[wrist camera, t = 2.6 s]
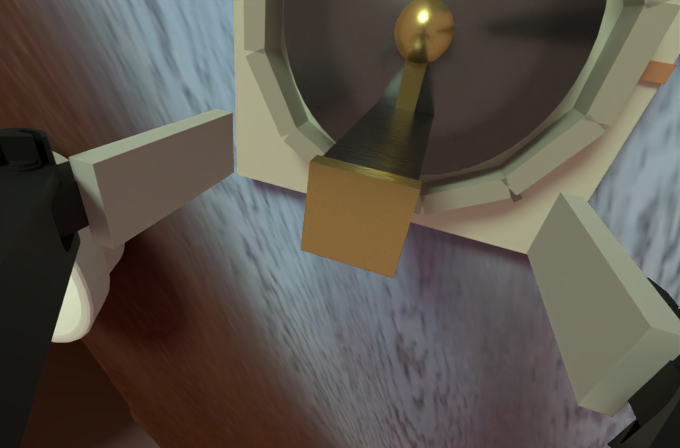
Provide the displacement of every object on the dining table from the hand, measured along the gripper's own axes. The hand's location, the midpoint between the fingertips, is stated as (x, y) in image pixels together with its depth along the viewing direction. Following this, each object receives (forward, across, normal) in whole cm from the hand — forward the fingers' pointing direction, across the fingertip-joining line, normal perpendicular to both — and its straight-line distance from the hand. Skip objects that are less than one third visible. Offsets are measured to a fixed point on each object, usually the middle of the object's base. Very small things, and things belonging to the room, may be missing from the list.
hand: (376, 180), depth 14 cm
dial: (+7, 0, +5) cm, 9 cm away
